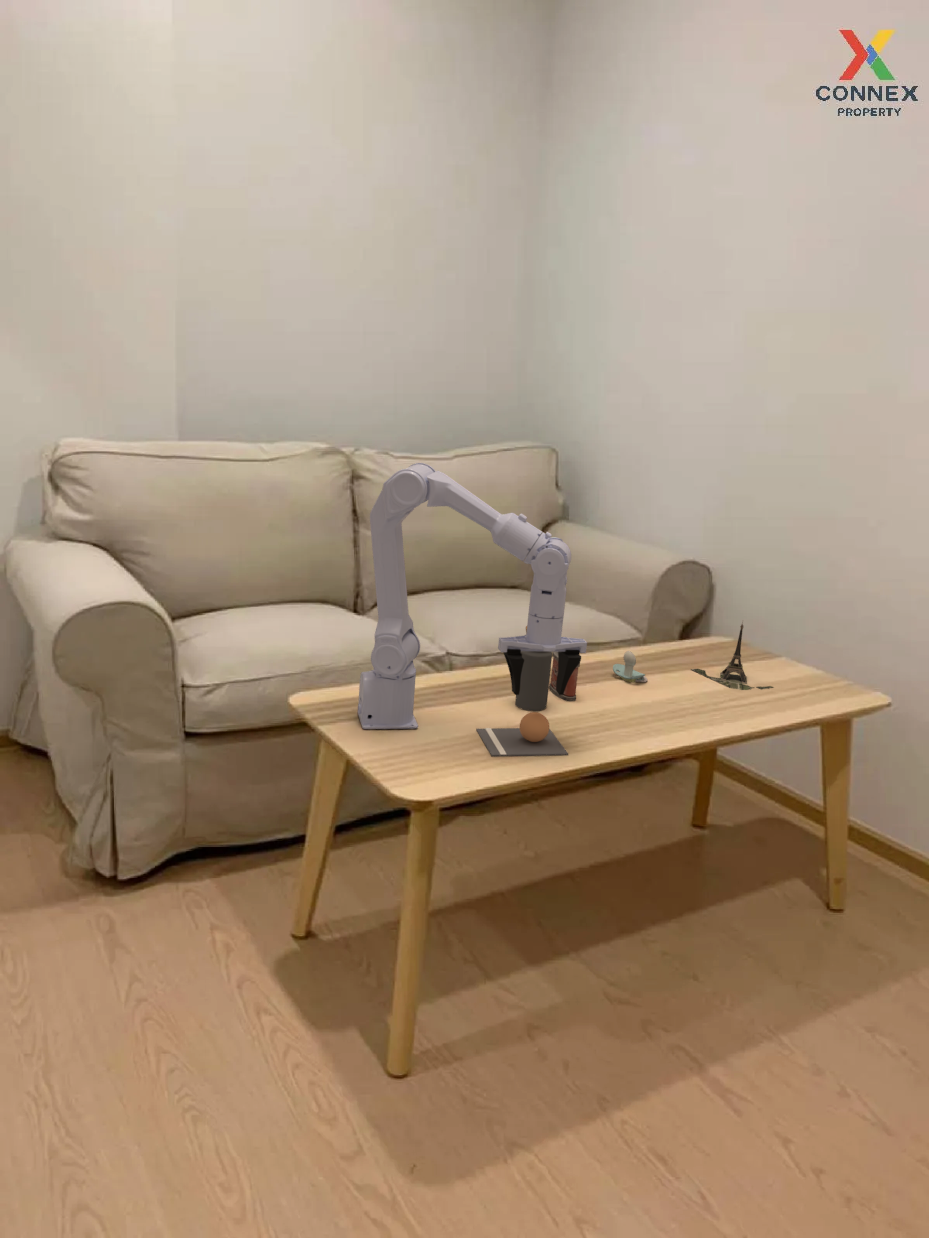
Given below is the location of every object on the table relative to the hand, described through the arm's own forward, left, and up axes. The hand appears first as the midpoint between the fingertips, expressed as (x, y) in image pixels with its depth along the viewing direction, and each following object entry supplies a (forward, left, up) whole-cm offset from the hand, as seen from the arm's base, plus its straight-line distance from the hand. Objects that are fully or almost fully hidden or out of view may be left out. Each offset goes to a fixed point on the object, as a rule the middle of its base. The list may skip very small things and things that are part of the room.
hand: (537, 692), depth 169 cm
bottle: (+5, +17, -9) cm, 20 cm away
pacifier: (+30, +32, -9) cm, 45 cm away
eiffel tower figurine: (+53, +32, -10) cm, 62 cm away
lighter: (+13, +23, -9) cm, 28 cm away
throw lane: (-2, 0, -9) cm, 9 cm away
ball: (0, 0, -9) cm, 9 cm away
